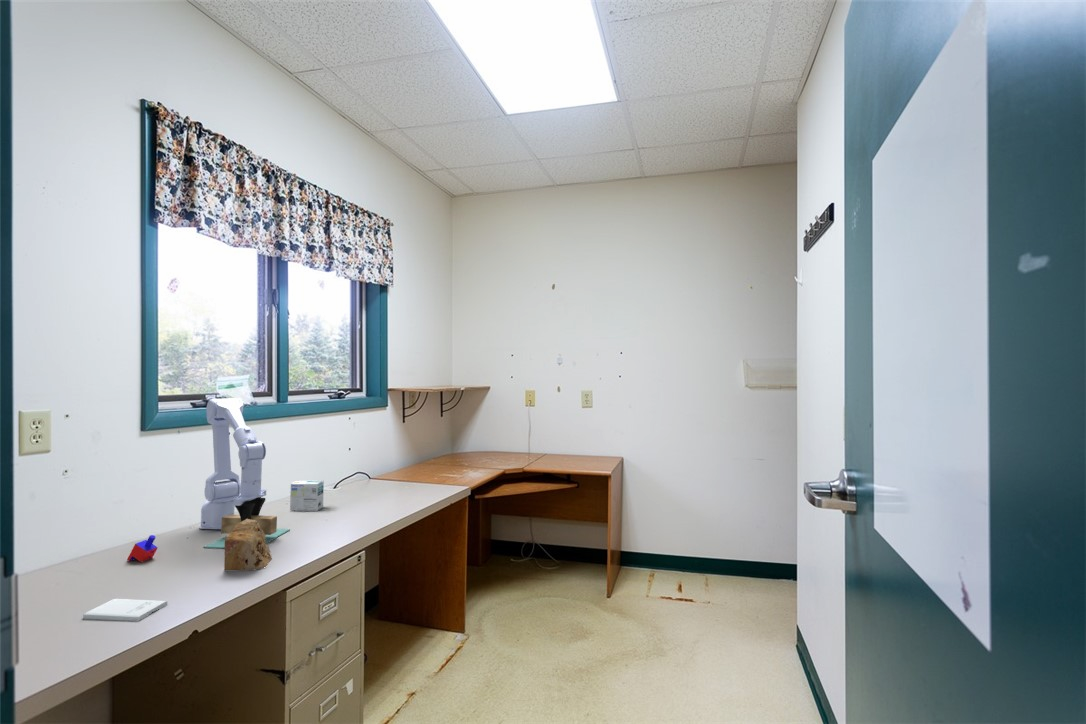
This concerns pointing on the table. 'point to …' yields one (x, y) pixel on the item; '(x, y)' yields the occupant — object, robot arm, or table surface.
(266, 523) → the bronze bar
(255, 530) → the stone fragment
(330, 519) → the table surface
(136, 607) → the external hard drive
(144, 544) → the red blue dreidel
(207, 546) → the board
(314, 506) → the light bulb box
